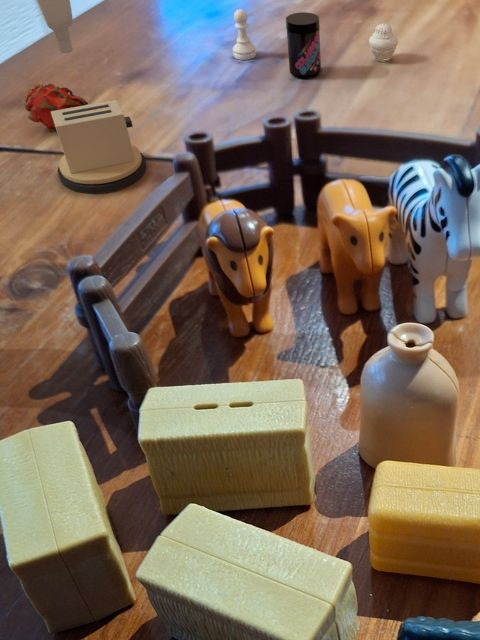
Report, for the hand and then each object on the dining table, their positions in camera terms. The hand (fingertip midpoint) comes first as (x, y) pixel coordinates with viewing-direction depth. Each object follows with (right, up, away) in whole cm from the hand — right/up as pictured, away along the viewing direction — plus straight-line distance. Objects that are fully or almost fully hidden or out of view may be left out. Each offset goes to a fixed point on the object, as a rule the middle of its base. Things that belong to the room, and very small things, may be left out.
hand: (61, 40), depth 113 cm
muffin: (+52, +22, +45) cm, 72 cm away
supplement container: (+35, +17, +41) cm, 56 cm away
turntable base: (+1, -14, +15) cm, 21 cm away
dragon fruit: (-10, -2, +26) cm, 28 cm away
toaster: (+1, -13, +14) cm, 19 cm away
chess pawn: (+22, +24, +47) cm, 57 cm away
